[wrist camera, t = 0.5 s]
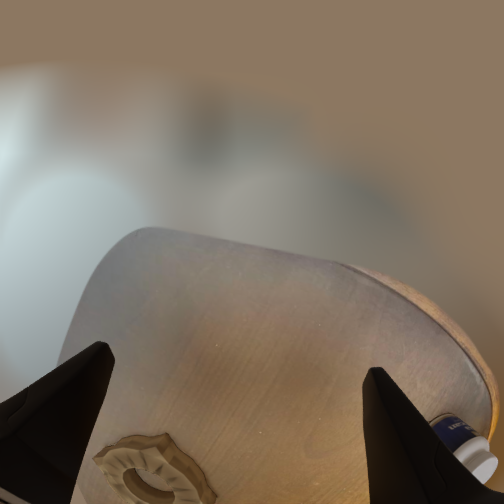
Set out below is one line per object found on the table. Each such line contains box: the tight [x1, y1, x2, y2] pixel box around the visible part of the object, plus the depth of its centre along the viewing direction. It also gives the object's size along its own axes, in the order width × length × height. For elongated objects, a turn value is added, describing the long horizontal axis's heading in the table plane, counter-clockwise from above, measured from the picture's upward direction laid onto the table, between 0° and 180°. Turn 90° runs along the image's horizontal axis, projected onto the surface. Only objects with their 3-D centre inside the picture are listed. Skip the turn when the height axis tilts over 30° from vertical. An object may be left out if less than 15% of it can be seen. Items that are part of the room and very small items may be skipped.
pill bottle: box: [429, 414, 498, 484], centre depth 15 cm, size 5×5×10 cm
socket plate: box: [92, 433, 217, 504], centre depth 21 cm, size 11×11×3 cm
